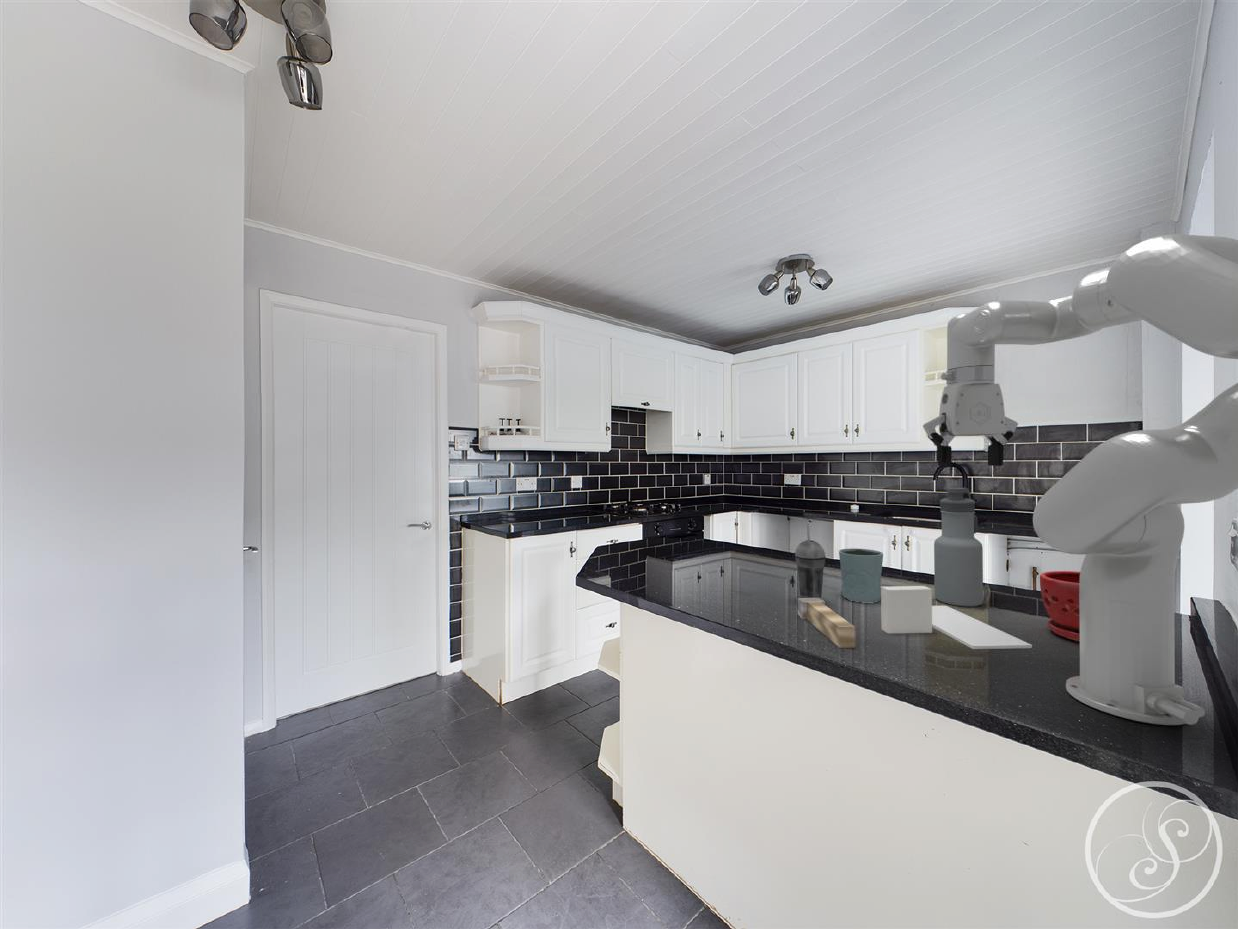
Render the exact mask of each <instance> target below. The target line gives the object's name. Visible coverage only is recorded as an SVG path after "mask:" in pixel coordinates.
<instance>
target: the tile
mask: <svg viewBox="0 0 1238 929" xmlns="http://www.w3.org/2000/svg"><path fill="white" fill-rule="evenodd" d="M880 587H881V597H880V602H881V603H880V604H881V605H880V609H881V611H880V613H881V614H880V616H881V630H882V631H884V632H885V633H887V634H889V635H890V634H926V633H927V634H932V633H933V627H932V606H933V594H932V593H933V592H932V591H933V589H932V588H930V587H927V586H925V585H909V586H908V585H902V586H880Z"/></svg>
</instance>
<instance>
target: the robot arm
mask: <svg viewBox="0 0 1238 929" xmlns="http://www.w3.org/2000/svg"><path fill="white" fill-rule="evenodd" d="M1139 321H1144V322H1146V323H1148V324H1150V325H1151V326H1152V327H1155V328H1156V329H1158V330H1160V331H1162V332H1164V333H1165V334H1167V335H1169V336H1170V337H1172V338H1174V339H1175V340H1177V341H1179V342H1180V343H1183V344H1184V345H1186V346H1187V347H1190V348H1192V349H1194V350H1196V351H1198V352H1201V353H1203V354H1206V355H1208V356H1213V357H1216V358H1221V359H1229V360H1230V359H1233V360H1238V239H1235V238H1231V237H1227V236H1225V237H1224V236H1213V235H1199V234H1198V235H1196V234H1195V235H1194V234H1178V233H1176V234H1175V233H1174V234H1173V233H1172V234H1163V235H1158V236H1153V237H1150V238H1147V239H1145V240H1142V241H1140V242H1138V243H1136V244H1133V245H1132V246H1131V247H1129V248H1128V249H1127V250H1125V251H1124V252H1123V253H1122V254H1120V255H1119V256H1118V257H1117V258H1116V260H1115V261H1114V262H1113V263H1112V264H1111V266H1108V267H1105V268H1101V269H1099V270H1096V271H1092V272H1090V273H1088V274H1086V275H1085V276H1083V277H1082V278H1081V279H1080V280H1079V281H1078V283H1077V284H1076V285H1075V287H1074V289H1073V293H1072V294H1071V295H1066V296H1064V297H1060V298H1056V299H1051V300H1045V301H1037V300H1035V301H1034V300H1003V299H1002V300H994V301H989V302H987V303H985V304H983V305H981V306H979V307H978V308H976V309H973V310H972V311H970V312H966V313H961V314H958V315H956V316H953V317H952V318H951V319H949V321H948V323H947V327H946V328H947V329H946V330H947V332H946V337H947V338H946V342H947V343H946V346H947V348H946V372H943V373H942V374H941V375H940V379H941V380H942V381H946V386H944V387H943V391H942V393H941V394H942V395H941V399H940V403H939V412H938V416H937V417H935V418H933V419H932V420H930V421H927V422H925V423H924V424H923V425H922V428H923V430H924V432H925V433H926V435H927V438H928V439H929V440H930V441H931V442H932V443H933V446H935V447H936V462H937V466H938V467H947V468H948V467H949V468H950V467H951V466H952V446H951V445H949V444H950V443H951V442H952V441H953V440H954V438H956V437H982V436H984V437H985V439H987V441H988V442H989V443H990V445H987V465H988V466H991V467H992V466H995V467H1002V466H1003V465H1004V457H1005V455H1004V454H1005V452H1004V450H1005V449H1004V447H1005V445H1008V441H1009V440H1010V439H1011V438H1013V436H1014V433H1015V431H1016V429H1017V428H1018V425H1019V423H1018V421H1015V420H1013V419H1011V418H1009V417H1007V416H1005V415H1006V413H1005V412H1006V411H1005V405H1004V398H1003V393H1002V389H1001V386H1000V383H995V374H996V373H995V372H996V370H995V369H996V368H995V367H996V366H995V362H996V360H995V359H996V353H995V352H996V350H995V347H996V345H1020V346H1021V345H1023V346H1026V345H1027V346H1036V345H1044V344H1049V343H1055V342H1060V341H1066V340H1071V339H1077V338H1080V337H1085V336H1088V335H1091V334H1094V333H1096V332H1098V331H1101V330H1103V329H1106V328H1110V327H1114V326H1121V325H1124V324H1129V323H1135V322H1139ZM937 427H938V430H939V433H938V432H937V430H936V428H937ZM1236 490H1238V382H1236V383H1235V384H1233V385H1231V386H1230V387H1229V388H1227V389H1225V390H1223V391H1222V392H1221V393H1220V394H1218V395H1217V396H1216V397H1214V398H1213V399H1212V400H1211V401H1209V403H1208V404H1207V405H1206V406H1205V407H1203V408H1202V409H1201V410H1199V411H1198V412H1197V413H1195V414H1194V415H1193V416H1192V417H1190V418H1189V419H1187V420H1186V421H1184V422H1183V423H1180V424H1179V425H1177V426H1175V427H1172V428H1167V429H1165V428H1164V429H1142V430H1140V429H1139V430H1134V431H1128V432H1125V433H1121V434H1118V435H1115V436H1113V437H1111V438H1109V439H1107V440H1105V441H1103V442H1102V443H1100V444H1099V445H1098V446H1096V447H1094V448H1093V449H1092V450H1091V451H1089V453H1087V454H1086V455H1085V456H1084V457H1083V458H1081V460H1080V461H1078V463H1076V464H1075V465H1074V466H1072V468H1071V469H1070V470H1069V471H1067V472H1066V473H1065V475H1063V476H1062V477H1061V478H1060V479H1059V480H1058V481H1056V483H1054V484H1053V485H1052V486H1051V487H1050V488H1049V489H1048V490H1047V491H1046V492H1045V493H1044V494H1043V495H1042V496H1041V497H1040V499H1039V500H1038V502H1037V503H1036V505H1035V508H1034V511H1033V514H1032V525H1033V529H1034V532H1035V534H1036V535H1037V537H1038V538H1039V539H1040V540H1041V541H1042V543H1044V544H1045V545H1046V546H1047V547H1049V548H1052V549H1053V550H1056V551H1058V552H1061V553H1065V554H1071V555H1084V556H1085V557H1084V558H1083V562H1082V565H1081V568H1080V571H1079V572H1080V590H1079V605H1080V642H1079V675H1075V676H1072V677H1068V679H1066V682H1065V688H1066V691H1067V692H1068V694H1069V695H1071V697H1073V698H1074V699H1076V700H1078V701H1079V702H1080V703H1083V704H1085V705H1087V706H1089V707H1091V708H1094V709H1096V710H1099V711H1100V712H1104V713H1107V714H1110V715H1114V716H1116V717H1120V718H1123V719H1128V720H1132V721H1136V722H1141V723H1145V724H1146V723H1147V724H1152V725H1161V726H1180V725H1181V726H1182V725H1186V724H1187V725H1190V726H1193V725H1196V724H1197V723H1198V721H1199V718H1203V717H1204V716H1205V715H1206V710H1205V708H1204V707H1202V706H1200V705H1199V704H1198V705H1197V704H1195V703H1194V702H1191V701H1188V700H1185V698H1184V697H1185V696H1184V694H1185V693H1184V692H1185V689H1184V686H1181V685H1178V684H1176V681H1175V679H1176V678H1175V677H1176V676H1175V675H1176V674H1175V668H1176V667H1175V658H1176V656H1175V654H1176V653H1175V646H1176V645H1175V638H1176V637H1175V636H1176V635H1175V604H1176V603H1175V601H1176V600H1175V599H1176V598H1175V596H1176V595H1175V594H1176V593H1175V592H1176V574H1177V573H1176V570H1177V563H1178V558H1179V554H1180V550H1181V546H1182V543H1183V539H1184V534H1185V533H1184V532H1185V517H1184V514H1183V512H1182V510H1181V508H1180V507H1179V505H1185V504H1187V505H1188V504H1199V503H1200V504H1201V503H1207V502H1212V501H1216V500H1219V499H1222V498H1224V497H1226V496H1228V495H1229V494H1231V493H1233V492H1235V491H1236Z"/></svg>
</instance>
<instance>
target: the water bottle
mask: <svg viewBox="0 0 1238 929" xmlns="http://www.w3.org/2000/svg"><path fill="white" fill-rule="evenodd" d="M946 494H947V497H944V498H942V499H940V500H939V503H940V505H939V507H940V508H939V509H940V513H941V535H940V536H939V537H937V538H936V539H935V540H934V542H933V558H934V559H933V560H934V562H933V565H934V566H933V567H934V572H933V573H934V574H933V575H934V579H933V580H934V581H933V582H934V598H935V599H936V600H937V601H939V602H942V603H944V604H946V603H947V604H946V605H950V606H956V607H957V606H958V607H963V608H964V607H965V608H969V607H970V608H971V607H972V608H973V607H978V606H981V605H982V604H983V603H984V569H983V568H984V567H983V566H984V562H983V561H984V558H983V556H984V555H983V553H984V551H983V550H984V549H983V544H982V543H981V541H980V540H979V539H977V538H975V534H976V533H978V517H977V515H975V514H976V512H975V504H976V500H974V499H972V498H971V492H970V490H969V488H967V487H951V486H950V487H946Z"/></svg>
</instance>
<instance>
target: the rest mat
mask: <svg viewBox="0 0 1238 929" xmlns="http://www.w3.org/2000/svg"><path fill="white" fill-rule="evenodd" d="M932 629H935V630H937V631H938V632H940V633H942V634H944V635H947V636H948V637H950V638H952V639H953V640H955V641H956V642H959V643H960V644H963V645H964V646H966V647H968V648H970V649H971V650H1004V649H1005V650H1008V649H1011V650H1012V649H1013V650H1014V649H1032V648H1033V644H1032V643H1031V644H1030V643H1028V642H1026V641H1024V640H1022V639H1020V638H1018V637H1016V636H1013V635H1011V634H1008V633H1006V632H1005V631H1003V630H1000V629H998V628H996V627H994V626H992V625H989V624H987V623H985V622H983V621H981V620H979V619H976V618H974V617H972V616H970V615H968V614H965V613H963V612H961V611H958V610H956V609H954V608H952V607H950V606H947V605H932Z"/></svg>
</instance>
